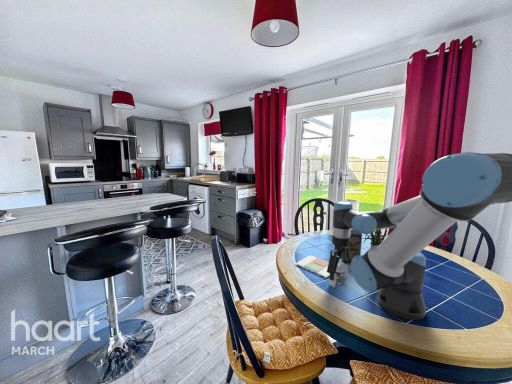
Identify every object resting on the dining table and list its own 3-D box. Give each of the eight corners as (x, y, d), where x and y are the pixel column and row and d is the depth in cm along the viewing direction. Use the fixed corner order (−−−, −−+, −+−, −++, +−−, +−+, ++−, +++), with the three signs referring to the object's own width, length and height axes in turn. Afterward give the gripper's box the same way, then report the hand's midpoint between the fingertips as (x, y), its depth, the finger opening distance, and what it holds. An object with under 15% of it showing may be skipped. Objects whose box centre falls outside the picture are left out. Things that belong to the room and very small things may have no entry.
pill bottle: (330, 279, 98) (331, 263, 97) (338, 277, 100) (339, 261, 98) (338, 285, 94) (339, 268, 92) (346, 283, 95) (347, 266, 94)
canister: (342, 263, 114) (344, 231, 111) (340, 255, 123) (342, 226, 120) (361, 265, 111) (364, 233, 109) (357, 257, 121) (360, 227, 118)
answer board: (339, 268, 108) (340, 266, 108) (326, 278, 99) (326, 276, 99) (310, 256, 121) (310, 254, 121) (295, 264, 112) (295, 262, 112)
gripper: (344, 228, 104) (341, 268, 107) (319, 240, 88) (317, 287, 92) (360, 231, 98) (356, 274, 102) (336, 245, 83) (333, 295, 86)
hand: (338, 280), depth 97 cm, fingers open, 11 cm apart
